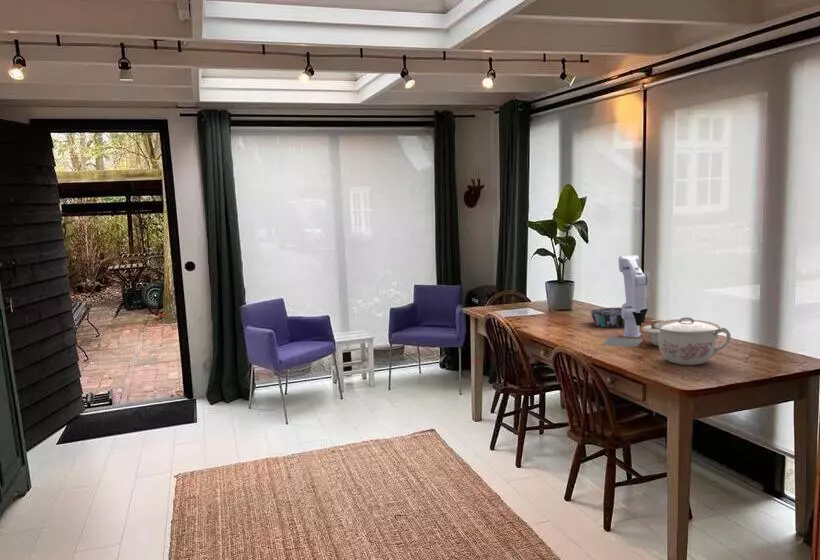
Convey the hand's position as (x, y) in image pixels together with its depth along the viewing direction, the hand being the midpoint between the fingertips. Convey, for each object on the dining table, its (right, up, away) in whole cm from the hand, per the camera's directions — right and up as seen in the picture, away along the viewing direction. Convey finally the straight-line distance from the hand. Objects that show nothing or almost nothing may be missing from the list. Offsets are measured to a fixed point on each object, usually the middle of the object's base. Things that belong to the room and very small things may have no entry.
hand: (640, 324), depth 311 cm
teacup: (+8, -11, -3) cm, 14 cm away
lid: (+7, -3, -4) cm, 9 cm away
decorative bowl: (+4, -4, +51) cm, 51 cm away
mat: (-7, -10, +6) cm, 13 cm away
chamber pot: (+8, -15, -36) cm, 39 cm away
